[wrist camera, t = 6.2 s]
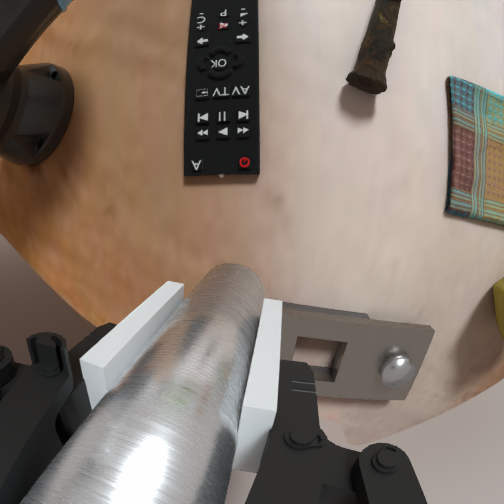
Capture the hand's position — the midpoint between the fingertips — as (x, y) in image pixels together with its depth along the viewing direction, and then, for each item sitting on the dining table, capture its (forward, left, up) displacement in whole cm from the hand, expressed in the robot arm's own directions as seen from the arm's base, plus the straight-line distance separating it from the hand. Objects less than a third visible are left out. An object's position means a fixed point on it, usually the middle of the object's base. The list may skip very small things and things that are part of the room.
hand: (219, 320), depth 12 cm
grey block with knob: (+12, -11, -19) cm, 25 cm away
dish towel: (+31, +16, -20) cm, 40 cm away
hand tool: (+10, +27, -19) cm, 34 cm away
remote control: (-7, +22, -20) cm, 30 cm away
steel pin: (0, 0, -3) cm, 3 cm away
